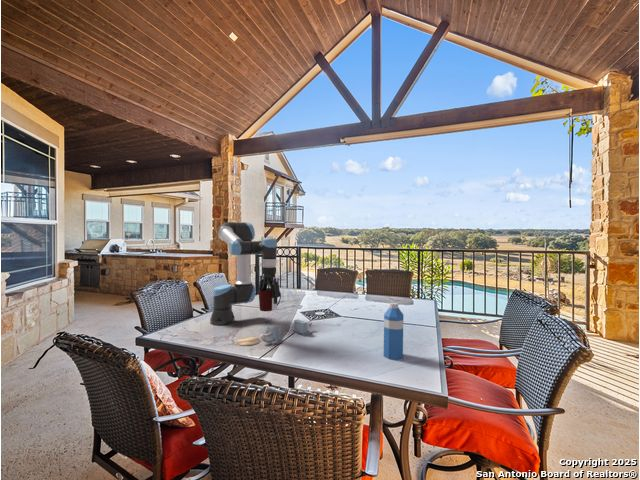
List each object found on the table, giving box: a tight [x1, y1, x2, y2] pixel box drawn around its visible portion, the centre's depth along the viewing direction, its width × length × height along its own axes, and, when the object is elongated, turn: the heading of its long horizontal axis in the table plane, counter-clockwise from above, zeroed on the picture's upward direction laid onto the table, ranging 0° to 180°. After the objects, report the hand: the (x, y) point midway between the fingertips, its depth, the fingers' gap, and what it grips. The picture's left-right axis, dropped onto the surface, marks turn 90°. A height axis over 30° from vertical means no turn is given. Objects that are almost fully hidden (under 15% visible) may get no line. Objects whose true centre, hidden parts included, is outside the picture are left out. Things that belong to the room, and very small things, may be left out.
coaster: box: [236, 336, 261, 347], centre depth 158 cm, size 12×12×1 cm
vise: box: [259, 318, 313, 346], centre depth 166 cm, size 10×34×7 cm, turn 134°
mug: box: [258, 287, 282, 312], centre depth 162 cm, size 12×9×11 cm
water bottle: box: [383, 302, 405, 361], centre depth 141 cm, size 9×9×25 cm
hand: (268, 307), depth 162 cm, fingers closed on mug, 9 cm apart
